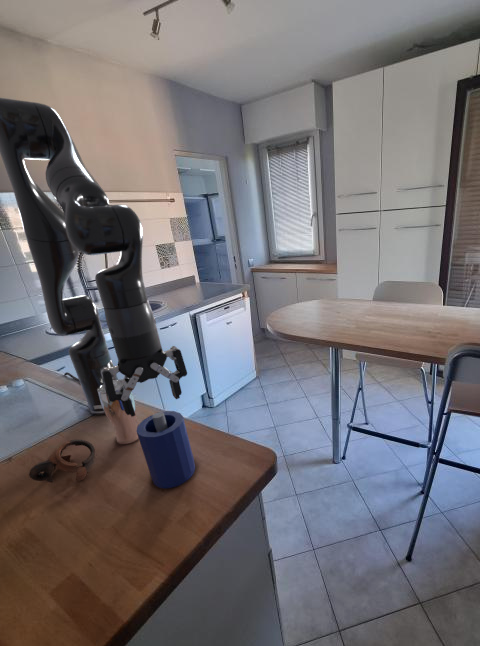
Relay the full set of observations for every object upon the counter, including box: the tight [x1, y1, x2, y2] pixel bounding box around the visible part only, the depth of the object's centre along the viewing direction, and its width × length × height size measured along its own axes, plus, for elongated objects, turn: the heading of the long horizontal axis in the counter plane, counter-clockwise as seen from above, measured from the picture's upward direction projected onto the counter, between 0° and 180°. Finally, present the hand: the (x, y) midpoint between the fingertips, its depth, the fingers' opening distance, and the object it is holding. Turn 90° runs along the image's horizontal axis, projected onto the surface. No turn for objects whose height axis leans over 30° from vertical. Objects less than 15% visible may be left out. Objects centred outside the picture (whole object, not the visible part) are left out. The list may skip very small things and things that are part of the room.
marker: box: [152, 411, 168, 432], centre depth 69 cm, size 2×2×14 cm
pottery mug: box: [28, 439, 97, 483], centre depth 73 cm, size 12×10×8 cm
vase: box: [136, 410, 196, 489], centre depth 70 cm, size 9×9×13 cm
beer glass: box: [97, 378, 139, 445], centre depth 82 cm, size 7×7×15 cm
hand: (155, 405), depth 65 cm, fingers open, 8 cm apart
